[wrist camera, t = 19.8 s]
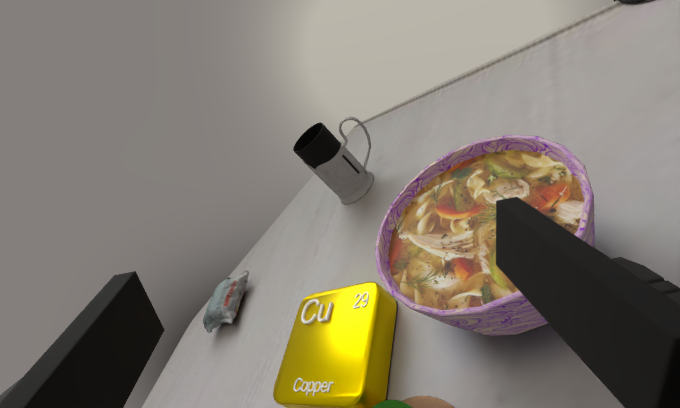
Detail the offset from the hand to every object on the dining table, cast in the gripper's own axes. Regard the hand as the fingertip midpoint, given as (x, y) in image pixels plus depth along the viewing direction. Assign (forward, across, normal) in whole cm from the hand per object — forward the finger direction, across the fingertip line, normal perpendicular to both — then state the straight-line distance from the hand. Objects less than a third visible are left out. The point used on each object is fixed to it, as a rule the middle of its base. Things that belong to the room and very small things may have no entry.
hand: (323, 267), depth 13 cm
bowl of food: (+19, +18, -18) cm, 32 cm away
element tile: (+24, -2, -29) cm, 38 cm away
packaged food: (+51, -24, -38) cm, 68 cm away
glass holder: (+56, +8, -18) cm, 59 cm away
